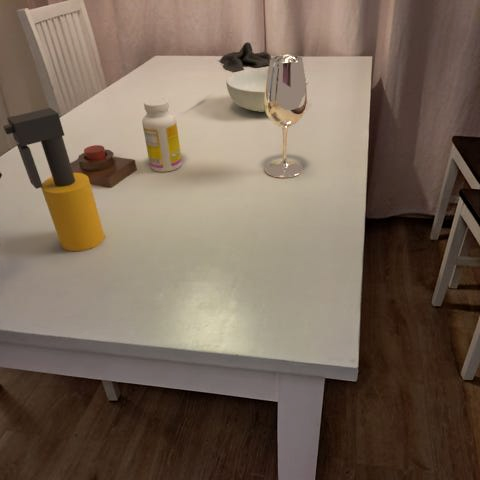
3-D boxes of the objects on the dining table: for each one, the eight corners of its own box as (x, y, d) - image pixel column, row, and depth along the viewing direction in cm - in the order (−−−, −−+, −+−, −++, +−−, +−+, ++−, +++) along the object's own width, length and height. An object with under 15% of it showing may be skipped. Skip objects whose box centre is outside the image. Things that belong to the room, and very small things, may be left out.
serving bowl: (248, 126, 113) (247, 95, 109) (216, 103, 128) (214, 76, 123) (321, 111, 119) (323, 82, 115) (283, 91, 134) (283, 64, 129)
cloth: (221, 56, 169) (220, 37, 165) (272, 54, 168) (272, 35, 164) (215, 72, 153) (213, 51, 149) (272, 70, 151) (272, 49, 147)
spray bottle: (57, 261, 72) (9, 129, 59) (43, 242, 76) (-5, 115, 63) (111, 241, 76) (77, 113, 62) (94, 224, 80) (59, 101, 67)
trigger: (36, 189, 67) (22, 149, 63) (30, 183, 68) (16, 144, 64) (43, 187, 67) (29, 147, 63) (37, 181, 69) (23, 142, 65)
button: (81, 160, 93) (79, 151, 91) (94, 152, 95) (92, 144, 94) (98, 162, 91) (95, 153, 90) (110, 155, 94) (108, 146, 93)
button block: (63, 179, 95) (57, 160, 92) (90, 162, 101) (85, 144, 98) (111, 188, 91) (106, 168, 88) (137, 169, 97) (133, 150, 94)
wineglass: (307, 176, 90) (313, 62, 77) (267, 179, 90) (266, 65, 77) (300, 160, 96) (304, 51, 83) (262, 163, 96) (261, 54, 83)
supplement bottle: (181, 158, 100) (172, 94, 92) (183, 171, 95) (174, 104, 87) (149, 162, 99) (138, 98, 91) (150, 174, 94) (138, 108, 86)
